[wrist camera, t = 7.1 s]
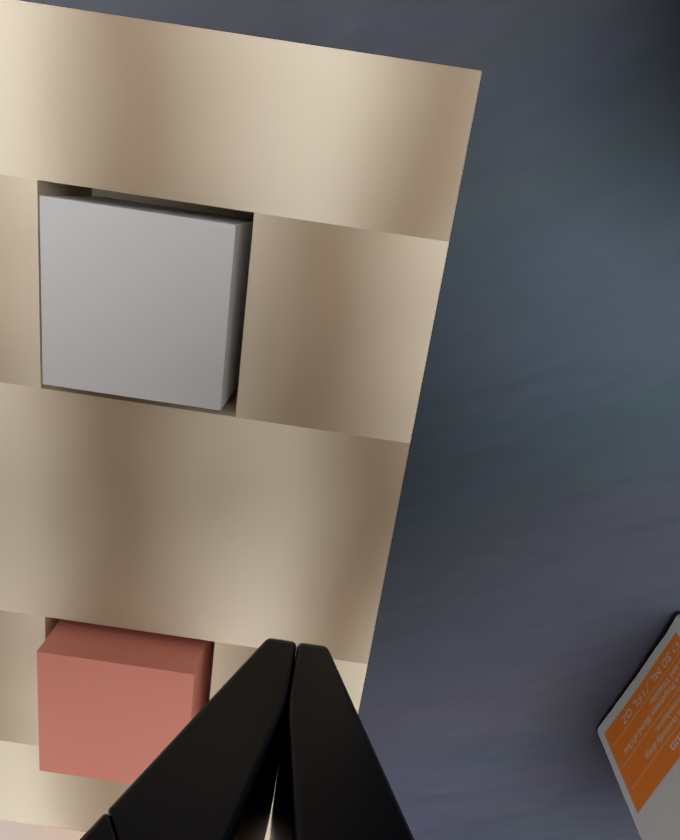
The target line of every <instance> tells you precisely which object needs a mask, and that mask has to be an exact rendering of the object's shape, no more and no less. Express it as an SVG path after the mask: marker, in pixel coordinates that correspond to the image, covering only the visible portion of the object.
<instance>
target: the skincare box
mask: <svg viewBox="0 0 680 840" xmlns="http://www.w3.org/2000/svg"><path fill="white" fill-rule="evenodd" d="M598 735H599V737H600V739H601V742H602V744H603V747H604V749H605V752H606V754H607V757H608V759H609V761H610V764H611V766H612V769H613V771H614V774H615V776H616V779H617V781H618V784H619V786H620V788H621V791H622V793H623V796H624V798H625V800H626V803H627V805H628V808H629V810H630V813H631V815H632V818H633V820H634V822H635V825H636V827H637V830H638V832H639V835H640V837H641V839H642V840H680V614H678V615H677V616H676V618H675V619H674V621H673V623H672V625H671V626H670V628H669V630H668V631H667V633H666V634H665V636H664V637H663V639H662V640H661V641H660V643H659V644H658V645H657V647H656V648H655V650H654V651H653V652H652V654H651V655H650V657H649V658H648V660H647V661H646V663H645V664H644V666H643V667H642V669H641V670H640V672H639V673H638V674H637V676H636V677H635V679H634V680H633V681H632V683H631V684H630V685H629V687H628V688H627V689H626V691H625V692H624V694H623V695H622V696H621V698H620V699H619V700H618V702H617V703H616V704H615V706H614V707H613V709H612V710H611V711H610V713H609V714H608V715H607V717H606V718H605V719H604V721H603V722H602V723H601V724H600V726H599V728H598Z"/></svg>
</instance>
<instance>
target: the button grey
mask: <svg viewBox="0 0 680 840" xmlns="http://www.w3.org/2000/svg"><path fill="white" fill-rule="evenodd" d="M253 220H254V219H248V218H242V217H235V216H228V215H222V214H215V213H208V212H202V211H195V210H188V209H182V208H175V207H168V206H162V205H155V204H149V203H142V202H135V201H129V200H122V199H115V198H109V197H97V196H40V252H41V312H42V372H43V384H45V385H52V386H59V387H65V388H72V389H79V390H86V391H92V392H99V393H106V394H112V395H119V396H126V397H132V398H139V399H146V400H153V401H159V402H166V403H173V404H179V405H186V406H193V407H199V408H206V409H213V410H221V409H222V408H223V406H224V405H225V403H226V402H227V401H228V399H229V398H230V396H231V395H232V394H233V392H234V391H235V389H236V388H237V387H238V384H239V373H240V362H241V351H242V340H243V329H244V318H245V307H246V296H247V285H248V275H249V264H250V253H251V242H252V231H253Z"/></svg>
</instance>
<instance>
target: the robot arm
mask: <svg viewBox="0 0 680 840" xmlns="http://www.w3.org/2000/svg"><path fill="white" fill-rule="evenodd" d="M295 655H296V656H295ZM277 772H278V773H277ZM276 779H277V780H276ZM275 785H276V787H275ZM274 791H275V793H274ZM273 798H274V800H273ZM272 803H273V808H272ZM271 809H272V816H271V828H270V840H414V838H413V835H412V833H411V831H410V829H409V827H408V824H407V822H406V820H405V818H404V815H403V813H402V811H401V809H400V807H399V804H398V802H397V800H396V798H395V796H394V793H393V791H392V789H391V787H390V784H389V782H388V780H387V778H386V776H385V773H384V771H383V769H382V767H381V764H380V762H379V760H378V758H377V756H376V753H375V751H374V749H373V747H372V745H371V742H370V740H369V738H368V736H367V733H366V731H365V729H364V727H363V725H362V722H361V720H360V718H359V716H358V714H357V711H356V709H355V707H354V705H353V702H352V700H351V698H350V696H349V694H348V691H347V689H346V687H345V685H344V682H343V680H342V678H341V676H340V674H339V671H338V669H337V667H336V665H335V663H334V660H333V658H332V656H331V654H330V652H329V650H328V648H327V647H325V646H321V645H315V644H308V643H300V644H299V645H298V646H297V650H296V643H294V642H293V641H288V640H281V639H274V638H269V639H267V640H265V641H264V642H263V643H262V644H261V646H260V647H259V648H258V649H257V650H256V651H255V652H254V653H253V654H252V655H251V656H250V657H249V658H248V660H247V661H246V662H245V663H244V664H243V665H242V666H241V667H240V668H239V669H238V670H237V671H236V672H235V674H234V675H233V676H232V677H231V678H230V679H229V680H228V681H227V682H226V683H225V684H224V685H223V686H222V687H221V689H220V690H219V691H218V692H217V693H216V694H215V695H214V696H213V697H212V698H211V699H210V700H209V701H208V703H207V704H206V705H205V706H204V707H203V708H202V709H201V710H200V711H199V712H198V713H197V714H196V715H195V717H194V718H193V719H192V720H191V721H190V722H189V723H188V724H187V725H186V726H185V727H184V728H183V729H182V731H181V732H180V733H179V734H178V735H177V736H176V737H175V738H174V739H173V740H172V741H171V742H170V743H169V744H168V746H167V747H166V748H165V749H164V750H163V751H162V752H161V753H160V754H159V755H158V756H157V757H156V758H155V760H154V761H153V762H152V763H151V764H150V765H149V766H148V767H147V768H146V769H145V770H144V771H143V772H142V774H141V775H140V776H139V777H138V778H137V779H136V780H135V781H134V782H133V783H132V784H131V785H130V786H129V788H128V789H127V790H126V791H125V792H124V793H123V794H122V795H121V796H120V797H119V798H118V799H117V800H116V801H115V803H114V804H113V805H112V806H111V807H110V808H109V810H108V814H103V815H102V816H101V817H100V818H99V819H98V820H97V821H96V823H95V824H94V825H93V826H92V827H91V828H90V829H89V830H88V831H87V832H86V833H85V834H84V836H83V837H82V838H81V839H80V840H264V839H265V835H266V831H267V827H268V823H269V819H270V814H271Z"/></svg>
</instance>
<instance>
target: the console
mask: <svg viewBox="0 0 680 840" xmlns="http://www.w3.org/2000/svg"><path fill="white" fill-rule="evenodd" d="M481 74H482V71H479V70H473V69H466V68H460V67H453V66H446V65H440V64H433V63H427V62H420V61H414V60H407V59H400V58H394V57H387V56H381V55H374V54H367V53H361V52H354V51H348V50H341V49H334V48H328V47H321V46H315V45H308V44H302V43H295V42H288V41H282V40H275V39H269V38H262V37H255V36H249V35H242V34H236V33H229V32H222V31H216V30H209V29H203V28H196V27H190V26H183V25H176V24H170V23H163V22H157V21H150V20H143V19H137V18H130V17H124V16H117V15H110V14H104V13H97V12H91V11H84V10H78V9H71V8H64V7H58V6H51V5H45V4H38V3H31V2H25V1H18V0H0V820H7V821H14V822H22V823H28V824H35V825H41V826H48V827H56V828H62V829H69V830H76V831H82V832H87V831H88V830H89V829H90V828H91V827H92V826H93V825H94V824H95V823H96V821H97V820H98V819H99V818H100V817H101V816H102V815H103V814H108V810H109V808H110V807H111V806H112V805H113V804H114V803H115V801H116V800H117V799H118V798H119V797H120V796H121V795H122V794H123V793H124V792H125V791H126V790H127V789H128V788H129V786H130V785H131V784H127V783H121V782H114V781H107V780H100V779H93V778H86V777H80V776H73V775H66V774H59V773H52V772H45V771H40V770H39V728H38V685H37V650H38V649H39V648H40V646H41V645H42V644H43V642H44V641H45V640H46V638H47V637H48V636H49V634H50V633H51V632H52V630H53V629H54V628H55V626H56V625H57V623H58V622H59V621H60V619H64V620H71V621H78V622H85V623H91V624H98V625H105V626H112V627H119V628H125V629H132V630H139V631H146V632H152V633H159V634H166V635H173V636H180V637H186V638H193V639H200V640H207V641H213V642H215V646H214V657H213V668H212V678H211V689H210V699H211V698H212V697H213V696H214V695H215V694H216V693H217V692H218V691H219V690H220V689H221V687H222V686H223V685H224V684H225V683H226V682H227V681H228V680H229V679H230V678H231V677H232V676H233V675H234V674H235V672H236V671H237V670H238V669H239V668H240V667H241V666H242V665H243V664H244V663H245V662H246V661H247V660H248V658H249V657H250V656H251V655H252V654H253V653H254V652H255V651H256V650H257V649H258V648H259V647H260V646H261V644H262V643H263V642H264V641H265V640H267V639H269V638H274V639H281V640H288V641H293V642H294V643H296V650H297V646H298V645H299V644H300V643H308V644H315V645H321V646H325V647H327V648H328V650H329V652H330V654H331V656H332V658H333V660H334V663H335V665H336V667H337V669H338V671H339V674H340V676H341V678H342V680H343V682H344V685H345V687H346V689H347V691H348V694H349V696H350V698H351V700H352V702H353V705H354V707H355V709H356V711H357V714H358V711H359V706H360V701H361V696H362V690H363V685H364V680H365V675H366V670H367V664H368V659H369V654H370V649H371V644H372V639H373V633H374V628H375V623H376V618H377V613H378V607H379V602H380V597H381V592H382V587H383V582H384V576H385V571H386V566H387V561H388V556H389V550H390V545H391V540H392V535H393V530H394V525H395V519H396V514H397V509H398V504H399V499H400V493H401V488H402V483H403V478H404V473H405V467H406V462H407V457H408V452H409V447H410V442H411V436H412V431H413V426H414V421H415V416H416V410H417V405H418V400H419V395H420V390H421V385H422V379H423V374H424V369H425V364H426V359H427V353H428V348H429V343H430V338H431V333H432V328H433V322H434V317H435V312H436V307H437V302H438V296H439V291H440V286H441V281H442V276H443V271H444V265H445V260H446V255H447V250H448V245H449V239H450V234H451V229H452V224H453V219H454V213H455V208H456V203H457V198H458V193H459V188H460V182H461V177H462V172H463V167H464V162H465V156H466V151H467V146H468V141H469V136H470V131H471V125H472V120H473V115H474V110H475V105H476V99H477V94H478V89H479V84H480V79H481ZM40 196H97V197H109V198H115V199H122V200H129V201H135V202H142V203H149V204H155V205H162V206H168V207H175V208H182V209H188V210H195V211H202V212H208V213H215V214H222V215H228V216H235V217H242V218H248V219H254V220H253V231H252V242H251V253H250V264H249V275H248V285H247V296H246V307H245V318H244V329H243V340H242V351H241V362H240V373H239V384H238V387H237V388H236V389H235V391H234V392H233V394H232V395H231V396H230V398H229V399H228V401H227V402H226V403H225V405H224V406H223V408H222V409H221V410H213V409H206V408H199V407H193V406H186V405H179V404H173V403H166V402H159V401H153V400H146V399H139V398H132V397H126V396H119V395H112V394H106V393H99V392H92V391H86V390H79V389H72V388H65V387H59V386H52V385H45V384H43V372H42V312H41V252H40ZM295 656H296V655H295ZM277 773H278V772H277ZM276 780H277V779H276ZM275 787H276V785H275ZM274 793H275V791H274ZM273 800H274V798H273ZM272 808H273V803H272ZM271 816H272V809H271V814H270V819H269V823H268V827H267V831H266V835H265V839H264V840H270V828H271Z"/></svg>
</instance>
